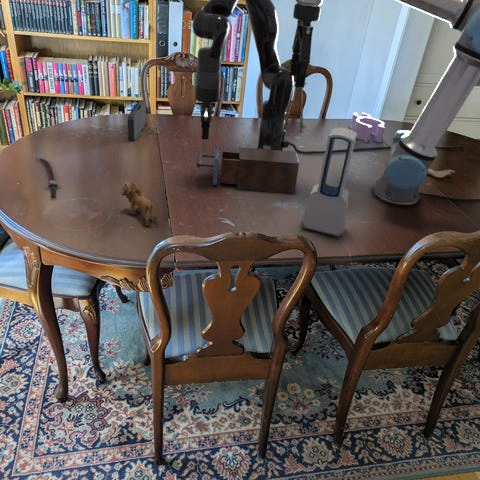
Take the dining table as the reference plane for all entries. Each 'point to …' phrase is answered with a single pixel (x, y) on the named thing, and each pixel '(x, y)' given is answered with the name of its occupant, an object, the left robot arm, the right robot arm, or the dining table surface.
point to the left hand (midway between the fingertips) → (205, 138)
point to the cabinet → (267, 170)
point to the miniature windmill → (297, 110)
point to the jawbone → (440, 173)
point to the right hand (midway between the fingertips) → (296, 81)
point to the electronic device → (330, 192)
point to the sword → (52, 181)
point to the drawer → (223, 166)
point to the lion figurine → (137, 201)
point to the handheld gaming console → (136, 120)
